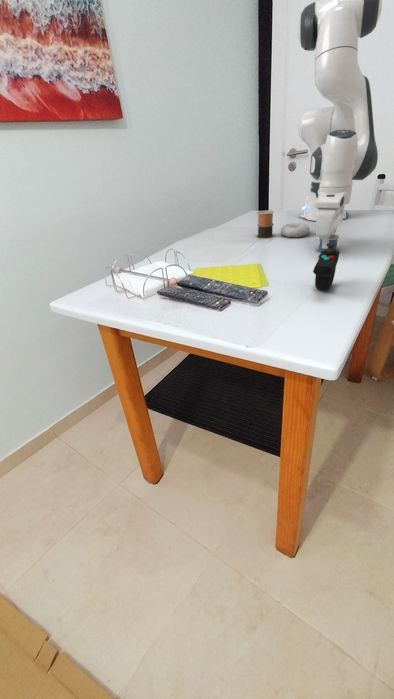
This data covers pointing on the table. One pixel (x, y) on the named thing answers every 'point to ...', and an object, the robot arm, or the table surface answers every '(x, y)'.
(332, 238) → the pod top
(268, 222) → the cylinder
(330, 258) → the controller
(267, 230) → the base
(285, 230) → the donut
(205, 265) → the table surface
